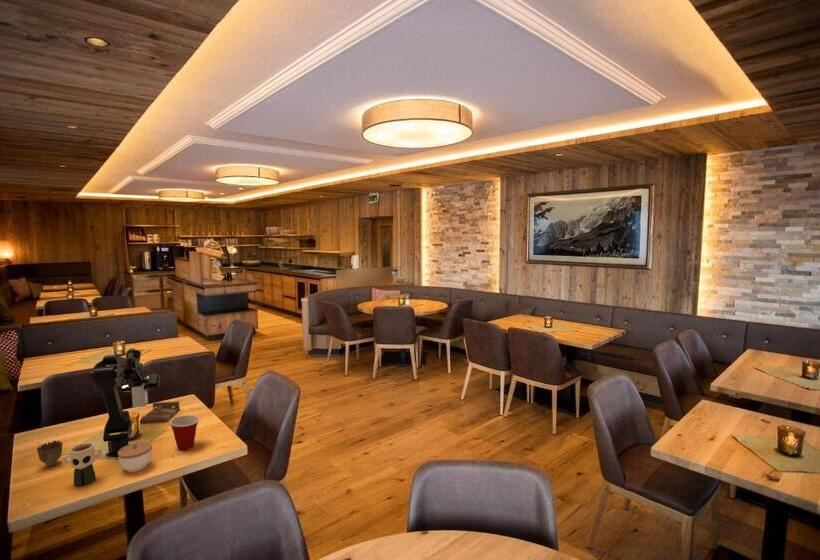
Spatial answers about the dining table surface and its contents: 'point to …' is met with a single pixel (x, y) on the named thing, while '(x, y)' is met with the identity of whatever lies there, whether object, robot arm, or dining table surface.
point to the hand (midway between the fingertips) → (140, 390)
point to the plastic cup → (184, 431)
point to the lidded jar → (135, 456)
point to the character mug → (82, 462)
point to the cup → (50, 453)
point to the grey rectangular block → (139, 396)
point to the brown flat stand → (161, 412)
